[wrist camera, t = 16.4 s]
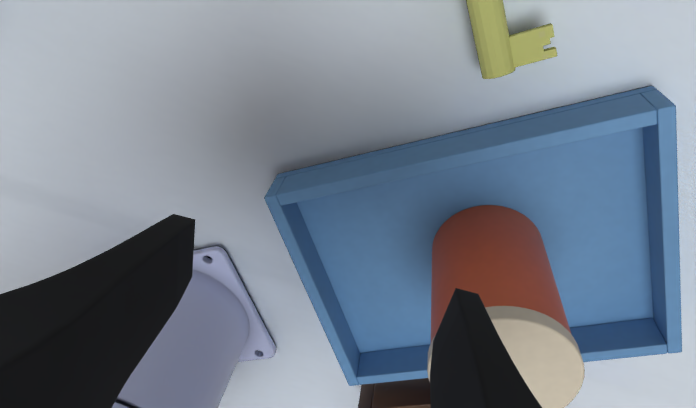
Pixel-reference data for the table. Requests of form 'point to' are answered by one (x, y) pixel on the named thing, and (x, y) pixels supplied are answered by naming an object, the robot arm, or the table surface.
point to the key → (505, 40)
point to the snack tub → (509, 295)
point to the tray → (502, 190)
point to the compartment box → (396, 394)
